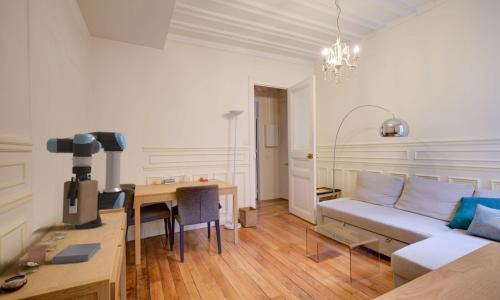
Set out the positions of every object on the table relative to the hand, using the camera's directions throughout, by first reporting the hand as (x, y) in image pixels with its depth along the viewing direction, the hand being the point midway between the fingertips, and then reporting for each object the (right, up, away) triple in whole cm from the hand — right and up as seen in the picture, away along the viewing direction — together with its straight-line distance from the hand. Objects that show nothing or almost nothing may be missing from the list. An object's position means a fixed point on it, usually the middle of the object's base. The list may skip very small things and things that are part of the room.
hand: (80, 209), depth 108 cm
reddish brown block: (-13, -22, -9) cm, 27 cm away
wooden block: (0, -6, 0) cm, 6 cm away
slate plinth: (0, -22, -1) cm, 22 cm away
